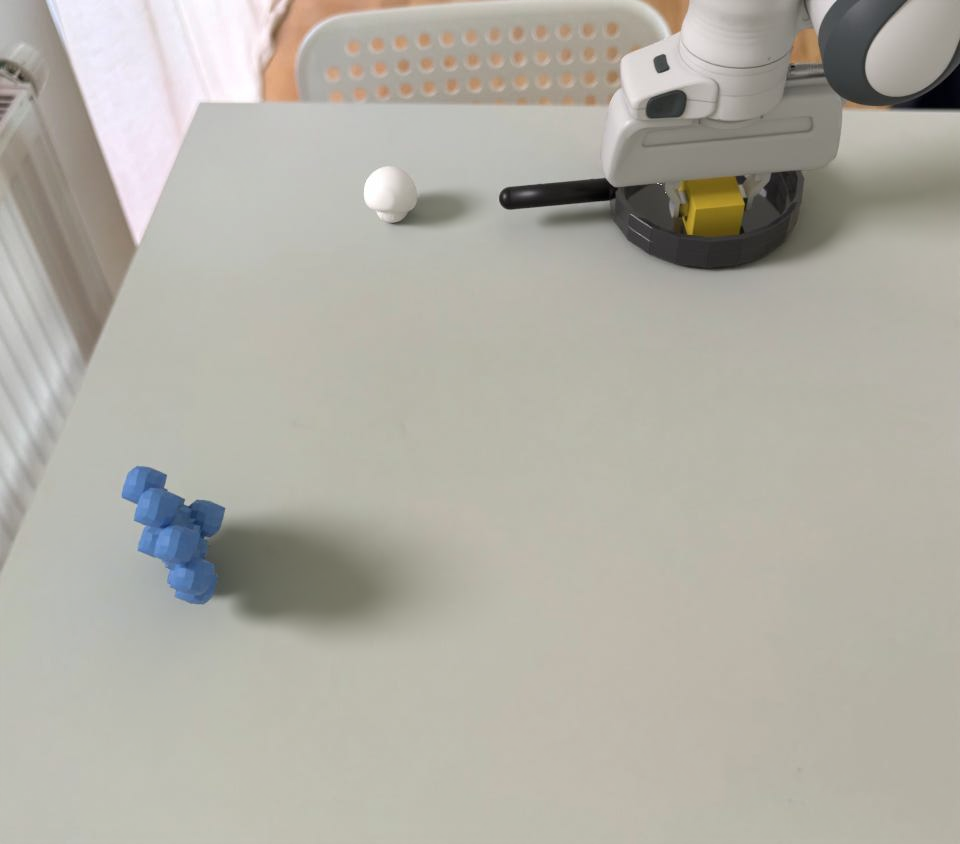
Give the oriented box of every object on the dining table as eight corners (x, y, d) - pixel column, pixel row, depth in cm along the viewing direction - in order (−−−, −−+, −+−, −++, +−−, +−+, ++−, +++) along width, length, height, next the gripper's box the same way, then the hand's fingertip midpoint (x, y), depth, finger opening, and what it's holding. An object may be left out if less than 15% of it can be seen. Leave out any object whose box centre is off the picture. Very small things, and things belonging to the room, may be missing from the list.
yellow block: (723, 195, 103) (729, 158, 100) (738, 240, 100) (745, 204, 97) (676, 199, 103) (681, 163, 100) (690, 245, 100) (695, 209, 97)
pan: (772, 143, 108) (778, 111, 105) (816, 262, 99) (825, 230, 96) (598, 159, 108) (599, 128, 105) (626, 280, 98) (628, 249, 96)
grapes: (277, 609, 81) (240, 513, 71) (192, 653, 79) (142, 561, 69) (213, 503, 87) (171, 400, 77) (133, 541, 85) (79, 442, 75)
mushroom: (361, 230, 104) (354, 185, 100) (375, 197, 106) (368, 152, 102) (412, 235, 103) (407, 191, 99) (424, 202, 106) (420, 157, 101)
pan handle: (616, 190, 102) (617, 172, 100) (619, 204, 101) (621, 186, 99) (498, 201, 102) (497, 183, 100) (500, 215, 101) (499, 197, 99)
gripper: (848, 36, 91) (813, 177, 102) (601, 59, 90) (594, 198, 102) (870, 81, 87) (831, 222, 99) (614, 104, 87) (604, 243, 98)
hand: (709, 210), depth 100 cm, fingers closed on yellow block, 4 cm apart
